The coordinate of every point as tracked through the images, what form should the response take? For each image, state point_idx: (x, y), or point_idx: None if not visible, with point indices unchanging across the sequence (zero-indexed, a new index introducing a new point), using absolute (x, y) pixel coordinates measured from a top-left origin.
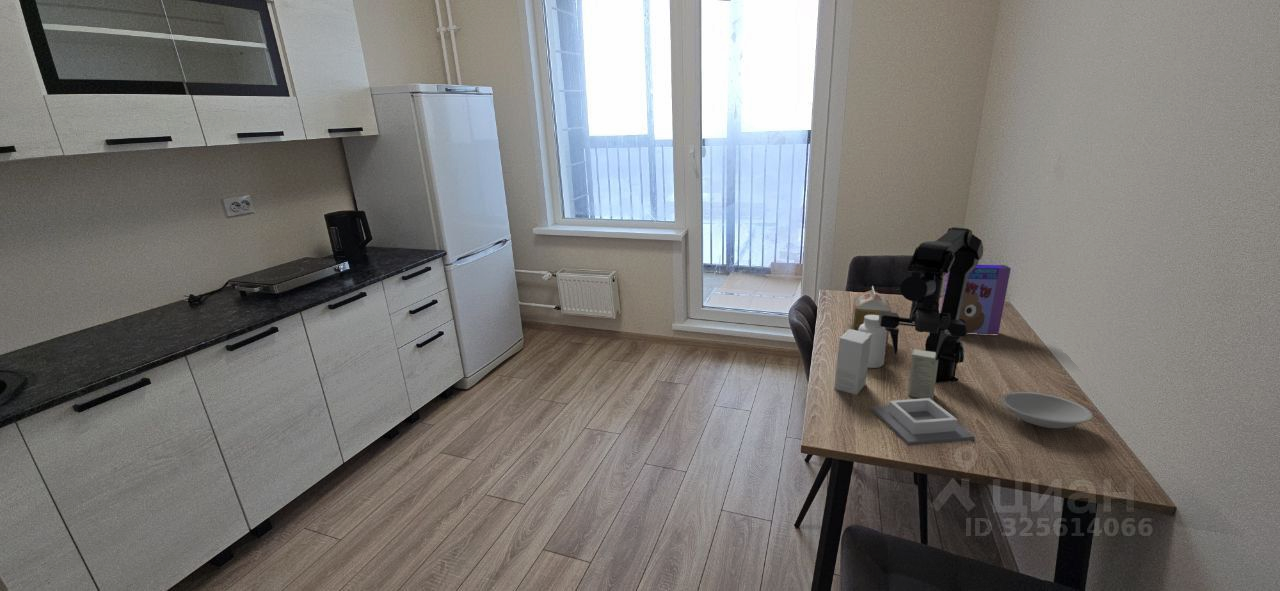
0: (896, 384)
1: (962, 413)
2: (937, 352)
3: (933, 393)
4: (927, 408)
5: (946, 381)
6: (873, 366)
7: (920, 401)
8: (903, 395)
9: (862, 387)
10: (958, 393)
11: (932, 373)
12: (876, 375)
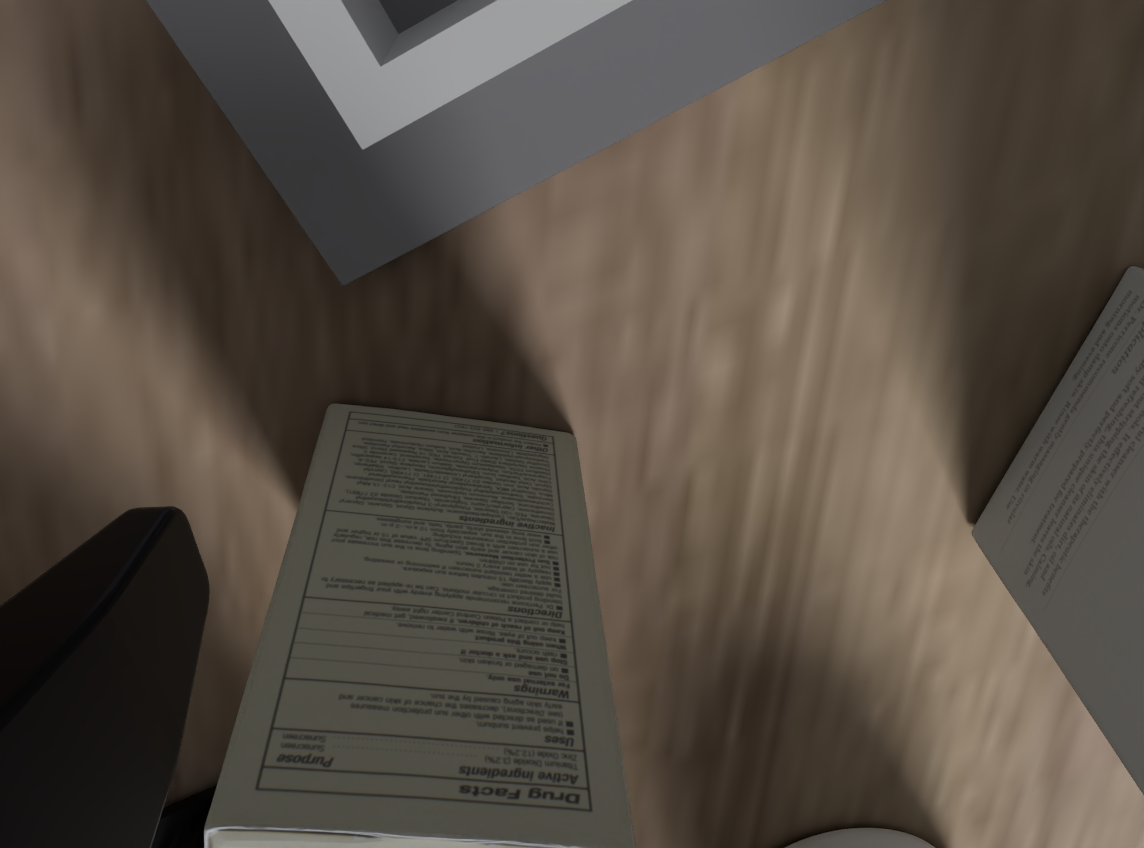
0: (659, 619)
1: (11, 207)
2: (90, 707)
3: (316, 445)
4: (386, 26)
5: (214, 788)
6: (832, 844)
7: (485, 2)
8: (616, 420)
9: (1029, 439)
10: None
11: (316, 615)
12: (819, 724)
